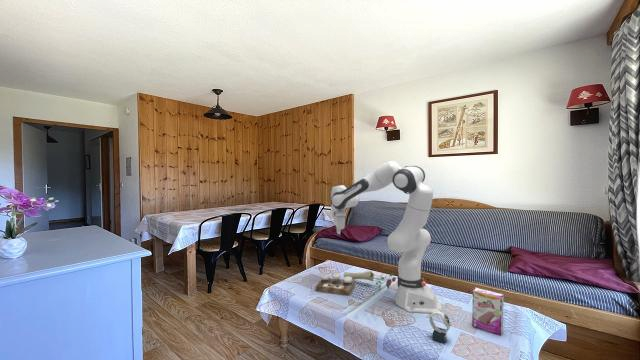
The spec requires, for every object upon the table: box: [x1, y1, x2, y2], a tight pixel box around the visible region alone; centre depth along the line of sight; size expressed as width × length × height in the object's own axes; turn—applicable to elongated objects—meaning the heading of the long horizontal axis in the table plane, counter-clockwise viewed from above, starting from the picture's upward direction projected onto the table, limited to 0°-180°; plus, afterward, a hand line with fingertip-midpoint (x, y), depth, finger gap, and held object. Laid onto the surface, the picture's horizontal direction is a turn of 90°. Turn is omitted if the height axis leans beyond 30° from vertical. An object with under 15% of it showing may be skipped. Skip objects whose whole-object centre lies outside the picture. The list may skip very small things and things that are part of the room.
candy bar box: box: [471, 287, 505, 336], centre depth 123 cm, size 11×5×16 cm, turn 48°
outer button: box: [320, 273, 330, 280], centre depth 171 cm, size 5×5×2 cm
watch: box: [428, 310, 452, 344], centre depth 116 cm, size 6×8×11 cm
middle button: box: [331, 272, 342, 280], centre depth 169 cm, size 5×5×2 cm
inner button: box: [343, 276, 353, 283], centre depth 166 cm, size 5×5×2 cm
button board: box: [315, 278, 356, 297], centre depth 167 cm, size 20×14×4 cm
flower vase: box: [343, 270, 397, 292], centre depth 169 cm, size 12×12×35 cm
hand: (338, 233), depth 174 cm, fingers closed
